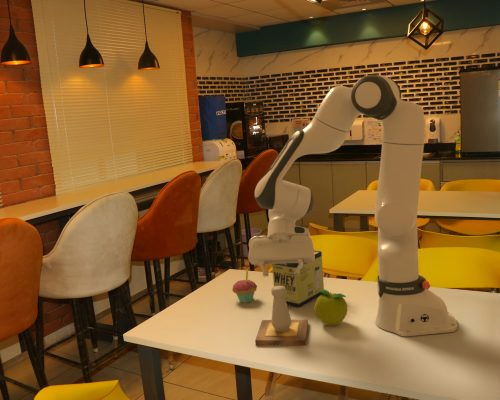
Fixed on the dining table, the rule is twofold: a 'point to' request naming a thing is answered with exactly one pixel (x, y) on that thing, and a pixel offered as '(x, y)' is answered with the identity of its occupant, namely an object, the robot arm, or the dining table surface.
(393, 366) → the dining table surface
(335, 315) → the fruit
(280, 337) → the base board
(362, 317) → the dining table surface
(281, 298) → the salt shaker
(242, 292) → the cupcake
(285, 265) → the protein box
